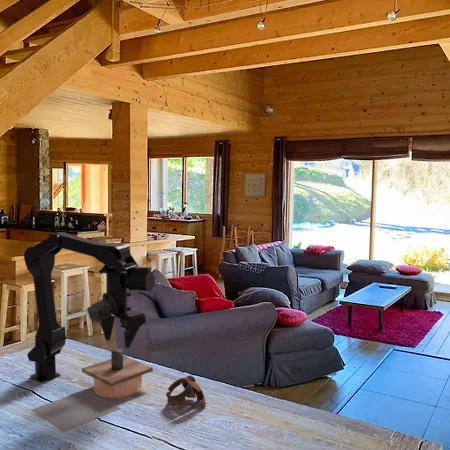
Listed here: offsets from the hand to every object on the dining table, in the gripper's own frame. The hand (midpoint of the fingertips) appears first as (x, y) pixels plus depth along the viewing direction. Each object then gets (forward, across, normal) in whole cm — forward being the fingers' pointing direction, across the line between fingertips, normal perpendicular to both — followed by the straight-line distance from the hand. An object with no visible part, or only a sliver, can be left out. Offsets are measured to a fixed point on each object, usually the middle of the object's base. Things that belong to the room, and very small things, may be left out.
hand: (117, 343), depth 136 cm
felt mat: (+13, +3, -15) cm, 20 cm away
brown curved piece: (+13, +21, +7) cm, 26 cm away
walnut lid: (+8, 0, 0) cm, 8 cm away
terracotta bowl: (+13, 0, 0) cm, 13 cm away
